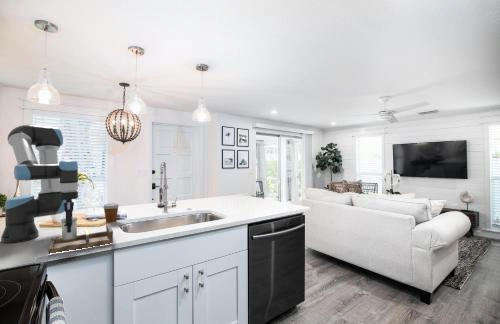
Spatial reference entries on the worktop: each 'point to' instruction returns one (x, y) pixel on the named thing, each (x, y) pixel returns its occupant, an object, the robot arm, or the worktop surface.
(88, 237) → the pusher
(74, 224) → the jar
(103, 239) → the brown wooden tray
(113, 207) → the disposable coffee cup
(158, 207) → the worktop surface
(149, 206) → the worktop surface
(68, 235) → the robot arm
